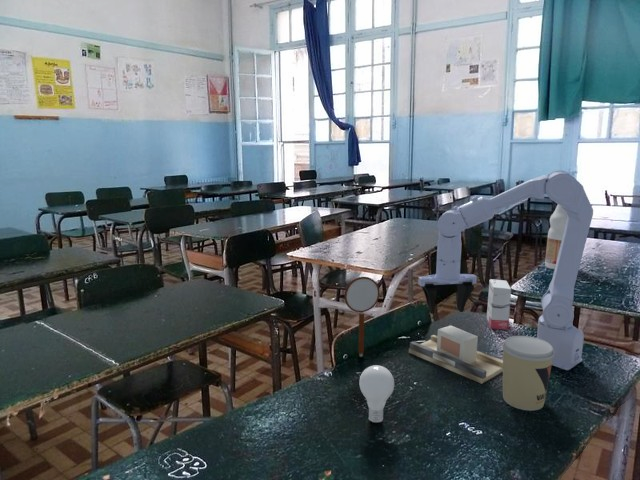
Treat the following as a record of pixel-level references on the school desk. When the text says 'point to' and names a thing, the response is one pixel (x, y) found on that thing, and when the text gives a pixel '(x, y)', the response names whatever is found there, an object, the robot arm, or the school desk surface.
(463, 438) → the school desk surface
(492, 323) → the ink box
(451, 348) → the carton
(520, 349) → the cream lidded canister
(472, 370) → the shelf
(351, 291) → the magnifying glass
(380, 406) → the lightbulb
